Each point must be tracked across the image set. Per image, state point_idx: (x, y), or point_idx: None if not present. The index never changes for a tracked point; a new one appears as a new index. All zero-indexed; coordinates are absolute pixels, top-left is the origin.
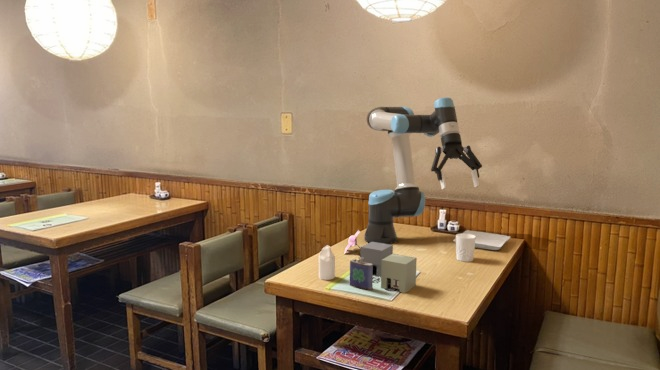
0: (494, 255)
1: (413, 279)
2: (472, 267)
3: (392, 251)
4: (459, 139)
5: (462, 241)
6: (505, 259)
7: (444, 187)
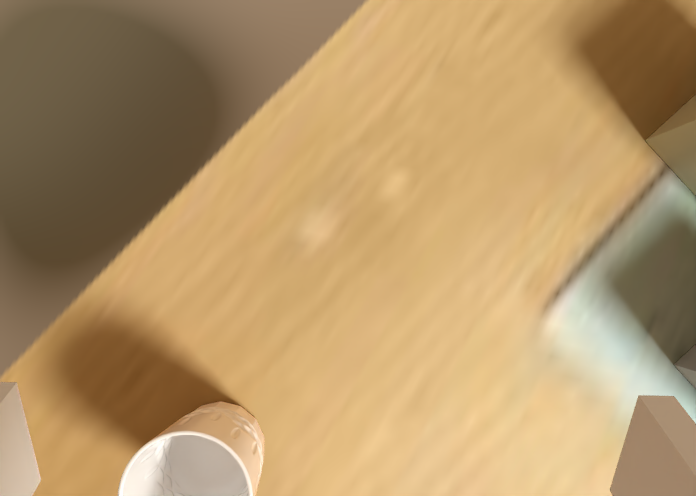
0: None
1: (685, 112)
2: (253, 311)
3: None
4: None
5: (238, 446)
6: None
7: (669, 404)
